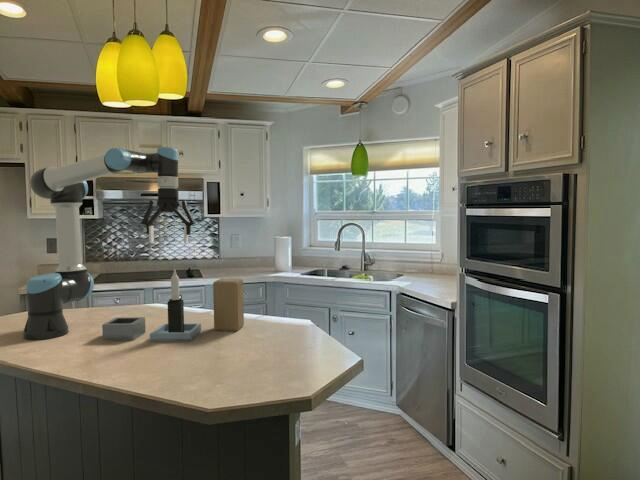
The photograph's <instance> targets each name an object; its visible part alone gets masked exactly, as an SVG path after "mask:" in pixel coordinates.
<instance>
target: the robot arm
mask: <svg viewBox="0 0 640 480" xmlns="http://www.w3.org/2000/svg"><path fill="white" fill-rule="evenodd" d="M178 154H179V153H178V149H177V148H175V147H172V146H159V147H158V148H157V150H156V152H150V153H149V152H141V151H135V150H131V149H130V150H129V149H125V148H121V147H111V148H109V149H108V150H107V151H106V152H105V153H103V154H100V155H97V156H93V157H90V158H86V159H83V160H79V161H75V162H72V163H69V164H64V165H62V166H58V167H56V166H48V167H44V168H41V169H37V170H36V171H35V172H33V174H32V175H31V177H30V181H29V185H30V188H31V190H32V192H33V193H34V194H35V195H36V196H38V197H40V198H42V199H46V200H50V205H51V206H52V207H54V209H55V225H56V226H55V227H56V240H57V241H56V243H57V254H58V255H57V256H58V267H57V268H56V269H55V270H54V272H49V273H48V272H47V273H42V274H38V275H34V276H32V277H30V278H28V280H27V281H26V288H25V292H26V301H27V318H26V319H27V320H26V323H25V326H24V328H23V331H22V332H23V339H24V340H25V339H26V340H34V341H35V340H36V341H37V340H47V339H53V338H57V337H61V336H65V335H67V334H68V333H69V324H68V323H67V321H66V320H67V319H66V318H65V316H64V312H63V305H64V304H65V305H66V304H67V303H69V304H70V303H73V302H78V301H82V300H84V299H87V297H89V296H90V295H91V294H92V292H93V289H94V286H95V282H94V281H95V280H94V278H93V276H92V275H91V274H90V273H89V272H88V270H87V266H85V265H84V264H83V255H82V254H83V253H82V252H83V251H82V241H81V240H82V237H81V236H82V235H81V219H80V207H81V206H82V205H83V200H84V199H85V198H86V196H87V195H88V193H89V185H88V183H87V181H91V180H95V179H97V178H101V177H105V176H109V175H112V174H116V173H119V172H123V171H124V172H125V171H126V172H132V173H133V174H150V173H151V174H152V173H155V174H157V187H158V189H157V200H154V199H153V200H149V204H148V208H147V210H146V213H145V214H144V216H143V218H142V220H141V224H142V225H144V226H146V235H148V242H149V243H148V244H154V243H155V238H154V237H155V236H154V234H155V233H154V232H155V231H154V229H155V226H154V225H153V224H154V222H156V220H157V219H158V218H159V216H160V215H161V214H163V213H174V214H175V215H176V216H178V218H179V219H180V221H181V222H182V223H184V225H185V226H184V225H183V242H184V243H183V244H189V235H191V234H192V233H191V231H192V229H191V228H192V226H193V225H196V221H195V219H194V217H193V215H192V213H191V211H190V209H189V207H188V202H187V200H181V201H180V200H179V189H178V188H179V155H178ZM156 206H158V209H157V210H156V211H155V213H154V214H152V213H153V211H154V210H155V207H156ZM179 206H180V207H182V209H183V211H184V213H185V215H186V216H185V215H184V213H182V212H181V210H180V209H179ZM151 216H152V217H151Z"/></svg>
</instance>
